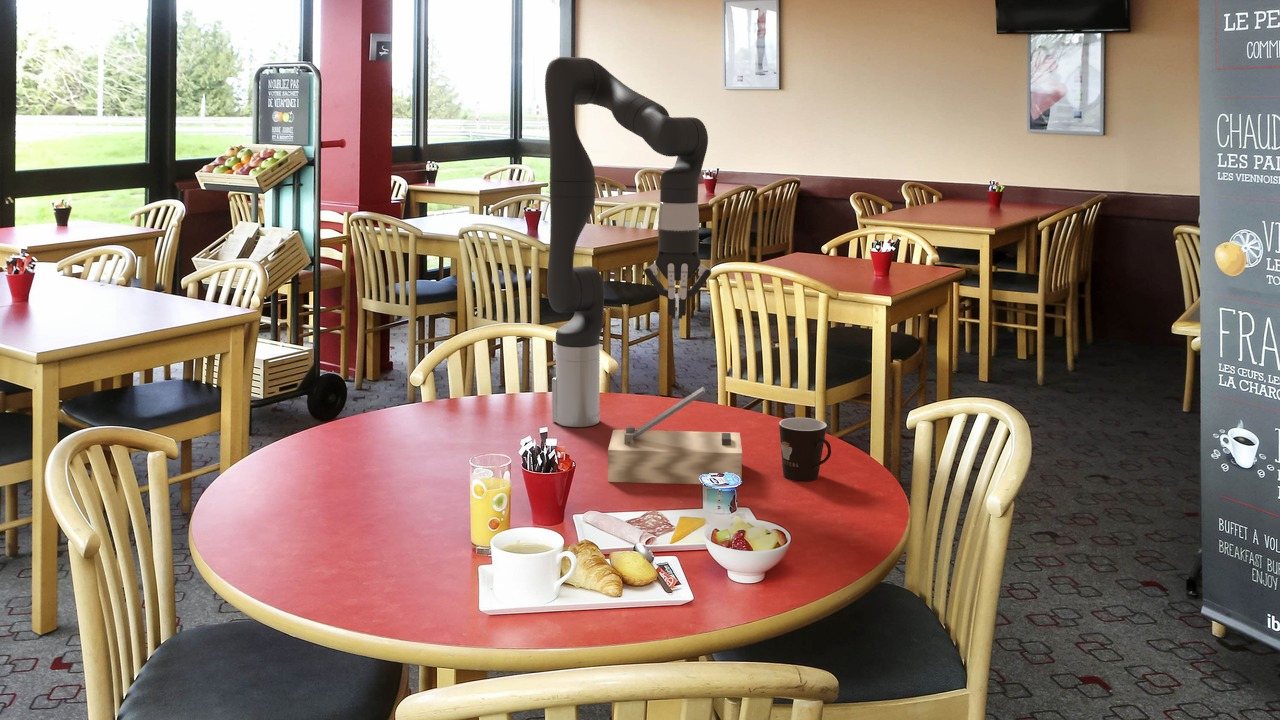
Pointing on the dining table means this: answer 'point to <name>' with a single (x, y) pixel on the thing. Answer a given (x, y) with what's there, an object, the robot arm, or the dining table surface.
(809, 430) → the coffee mug
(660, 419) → the strap
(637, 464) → the tea crate
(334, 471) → the dining table surface
